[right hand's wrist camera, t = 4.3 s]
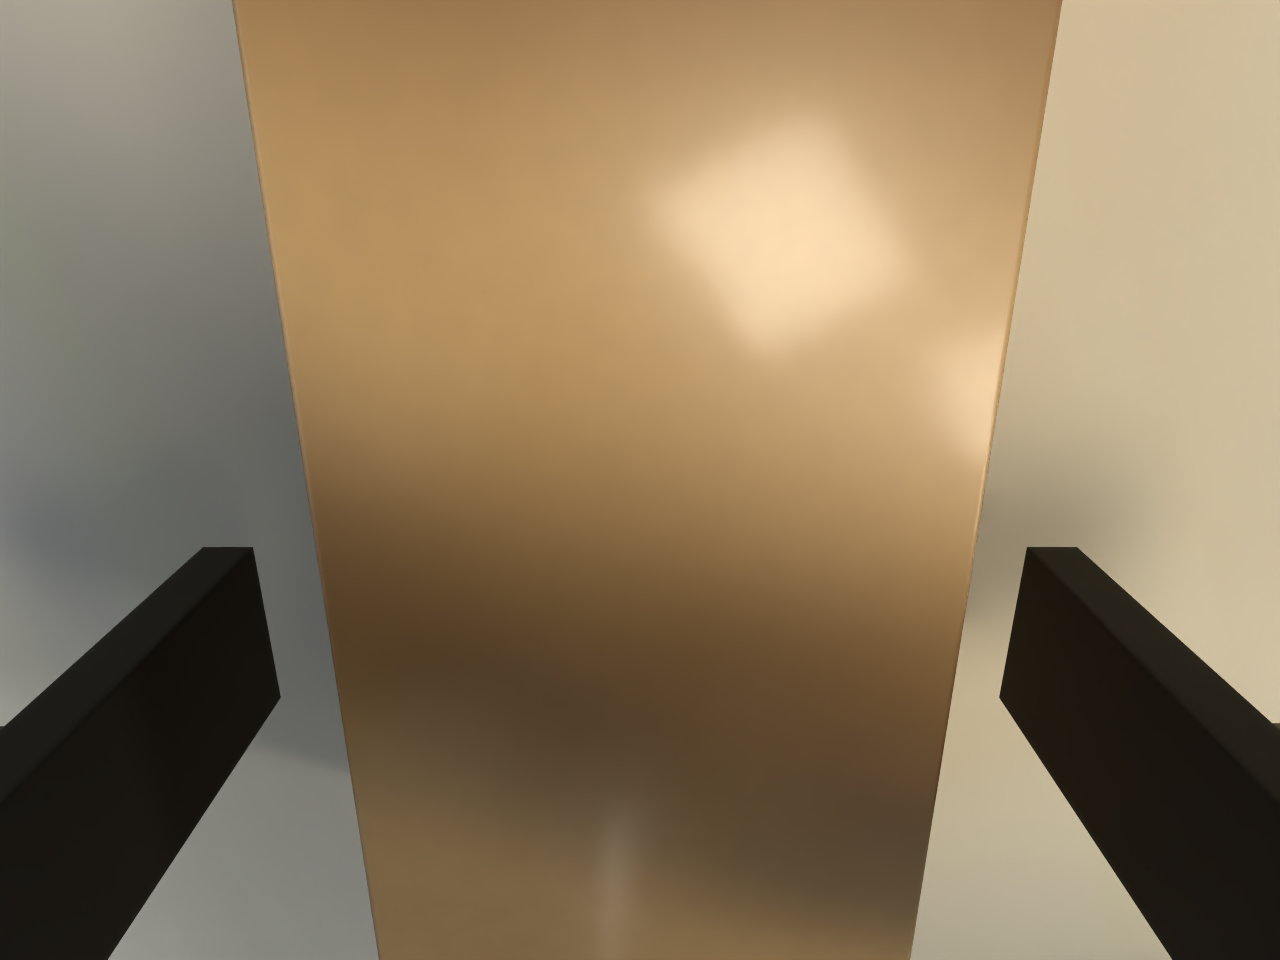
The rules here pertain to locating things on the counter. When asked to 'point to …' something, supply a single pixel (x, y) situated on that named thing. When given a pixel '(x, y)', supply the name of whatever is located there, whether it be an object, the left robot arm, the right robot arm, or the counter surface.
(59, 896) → the right robot arm
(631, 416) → the bar
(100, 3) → the counter surface
